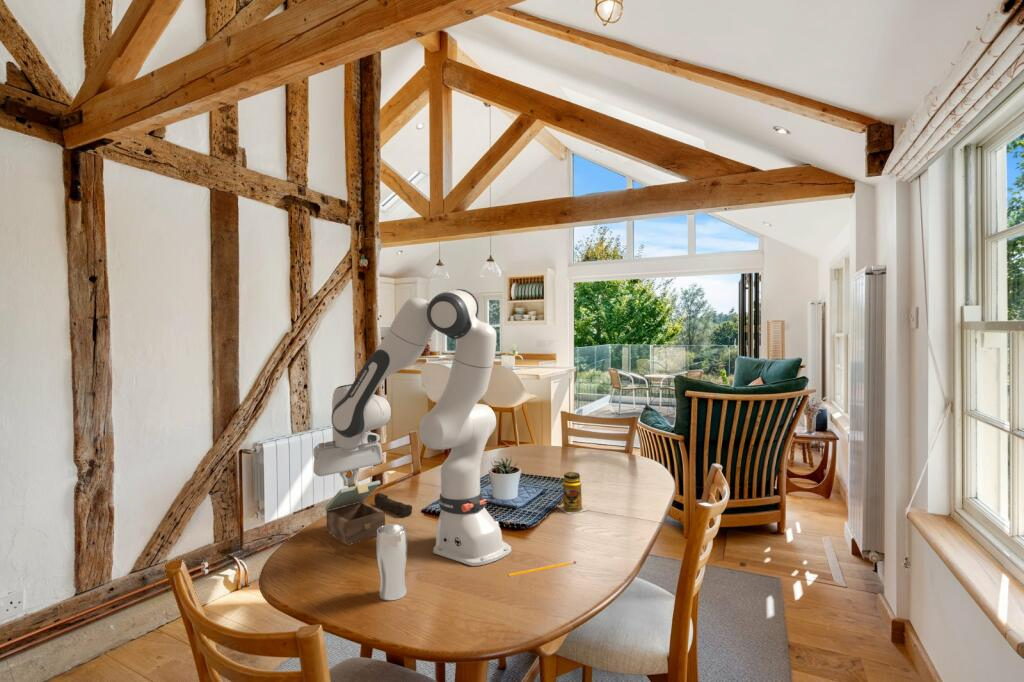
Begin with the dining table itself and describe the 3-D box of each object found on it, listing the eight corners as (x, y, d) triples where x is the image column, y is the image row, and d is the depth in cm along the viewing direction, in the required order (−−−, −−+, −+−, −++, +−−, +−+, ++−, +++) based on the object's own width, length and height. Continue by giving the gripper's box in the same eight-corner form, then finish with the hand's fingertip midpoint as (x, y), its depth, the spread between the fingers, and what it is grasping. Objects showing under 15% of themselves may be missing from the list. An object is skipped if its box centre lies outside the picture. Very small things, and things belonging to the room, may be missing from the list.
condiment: (568, 514, 163) (567, 477, 163) (556, 506, 171) (555, 471, 171) (587, 511, 166) (587, 474, 166) (574, 503, 174) (574, 468, 173)
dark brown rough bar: (413, 515, 165) (412, 501, 165) (402, 519, 163) (402, 504, 163) (382, 503, 179) (381, 490, 179) (372, 506, 176) (371, 493, 176)
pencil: (576, 564, 128) (576, 562, 128) (509, 577, 122) (509, 575, 122) (574, 563, 129) (574, 560, 129) (508, 576, 123) (508, 573, 123)
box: (386, 534, 150) (386, 512, 149) (348, 546, 141) (347, 523, 141) (363, 521, 160) (363, 501, 160) (327, 532, 152) (326, 510, 152)
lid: (383, 487, 151) (380, 479, 152) (343, 497, 142) (341, 488, 143) (365, 505, 160) (363, 497, 161) (327, 516, 151) (324, 507, 152)
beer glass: (380, 587, 118) (378, 524, 118) (410, 585, 119) (408, 522, 119) (374, 602, 111) (373, 535, 111) (406, 600, 112) (405, 534, 112)
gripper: (317, 445, 139) (318, 495, 140) (384, 434, 153) (385, 479, 153) (309, 442, 144) (310, 490, 144) (374, 432, 158) (375, 475, 158)
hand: (349, 484), depth 149 cm, fingers closed
